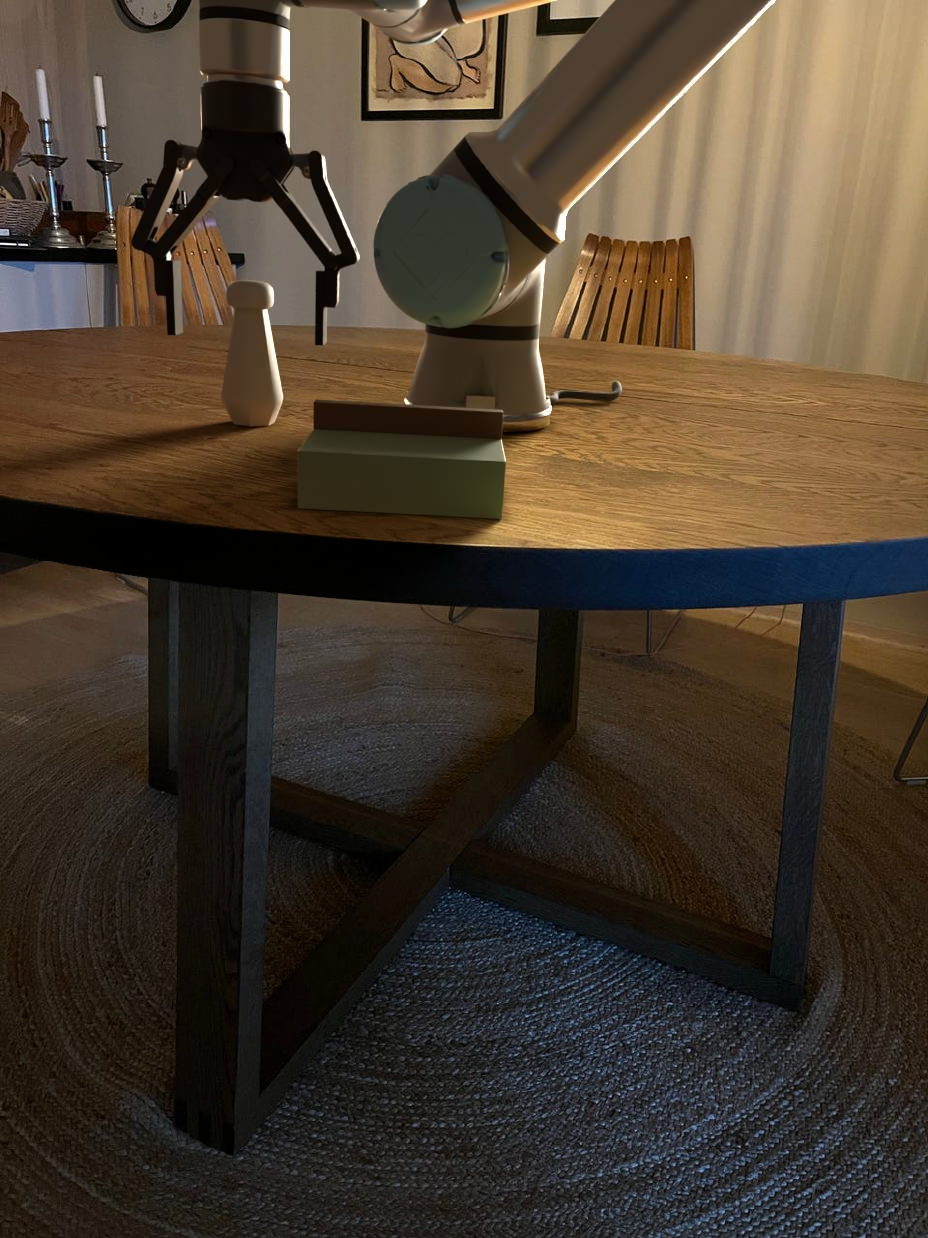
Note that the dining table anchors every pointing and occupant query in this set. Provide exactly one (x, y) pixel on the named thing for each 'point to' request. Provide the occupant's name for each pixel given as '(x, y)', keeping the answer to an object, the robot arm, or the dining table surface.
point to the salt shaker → (251, 357)
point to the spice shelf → (403, 460)
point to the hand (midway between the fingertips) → (248, 339)
